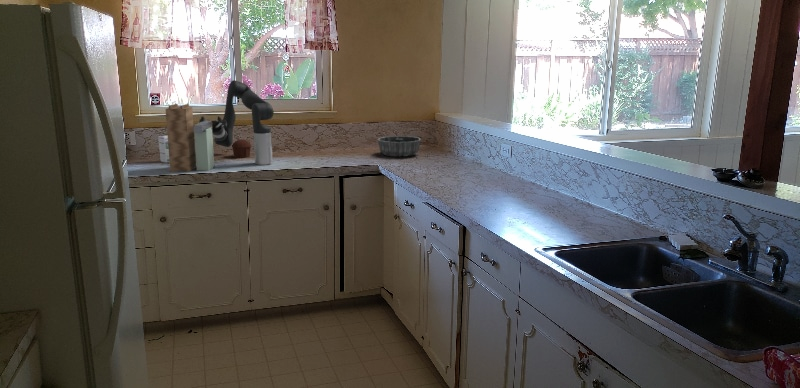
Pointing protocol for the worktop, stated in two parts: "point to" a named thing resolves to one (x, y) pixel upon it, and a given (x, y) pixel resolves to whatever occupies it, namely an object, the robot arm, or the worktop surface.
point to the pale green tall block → (204, 150)
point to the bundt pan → (399, 145)
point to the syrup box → (164, 148)
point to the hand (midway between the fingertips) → (210, 118)
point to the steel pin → (202, 126)
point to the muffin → (241, 148)
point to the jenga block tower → (181, 137)
